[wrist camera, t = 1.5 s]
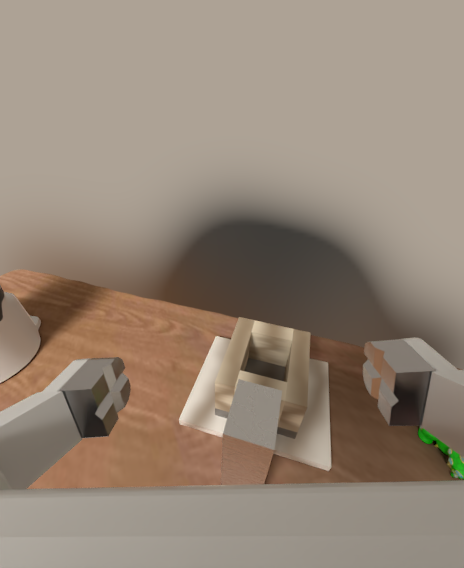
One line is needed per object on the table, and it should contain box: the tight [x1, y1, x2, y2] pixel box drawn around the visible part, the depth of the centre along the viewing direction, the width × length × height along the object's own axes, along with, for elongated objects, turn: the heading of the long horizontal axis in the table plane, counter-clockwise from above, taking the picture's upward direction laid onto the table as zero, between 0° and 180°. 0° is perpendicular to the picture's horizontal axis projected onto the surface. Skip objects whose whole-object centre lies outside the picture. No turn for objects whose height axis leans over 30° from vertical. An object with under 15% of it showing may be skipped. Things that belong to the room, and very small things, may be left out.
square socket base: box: [179, 317, 331, 471], centre depth 38 cm, size 20×16×9 cm
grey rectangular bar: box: [221, 379, 282, 485], centre depth 26 cm, size 4×5×16 cm
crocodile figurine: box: [418, 426, 464, 480], centre depth 37 cm, size 7×18×4 cm, turn 165°
